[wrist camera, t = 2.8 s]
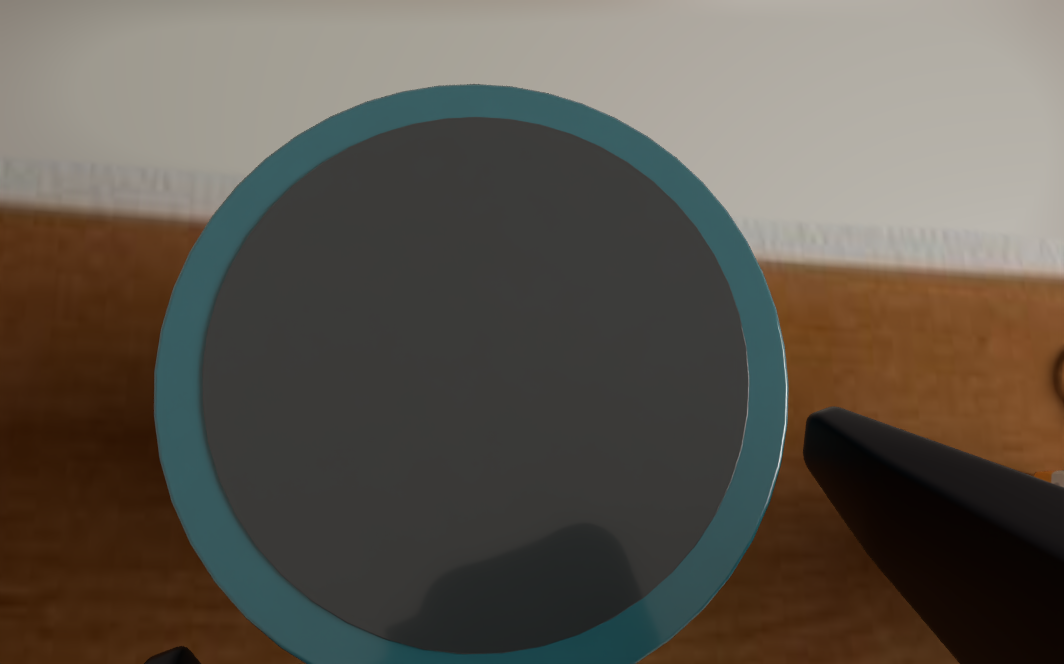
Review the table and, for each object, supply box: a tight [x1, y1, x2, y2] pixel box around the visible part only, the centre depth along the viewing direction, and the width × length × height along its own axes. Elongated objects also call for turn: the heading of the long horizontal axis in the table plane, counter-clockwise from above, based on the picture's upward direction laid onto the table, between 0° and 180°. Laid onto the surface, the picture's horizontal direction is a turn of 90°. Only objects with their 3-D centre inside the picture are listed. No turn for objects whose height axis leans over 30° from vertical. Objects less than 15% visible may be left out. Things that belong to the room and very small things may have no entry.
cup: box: [154, 84, 788, 664], centre depth 12 cm, size 7×7×10 cm
